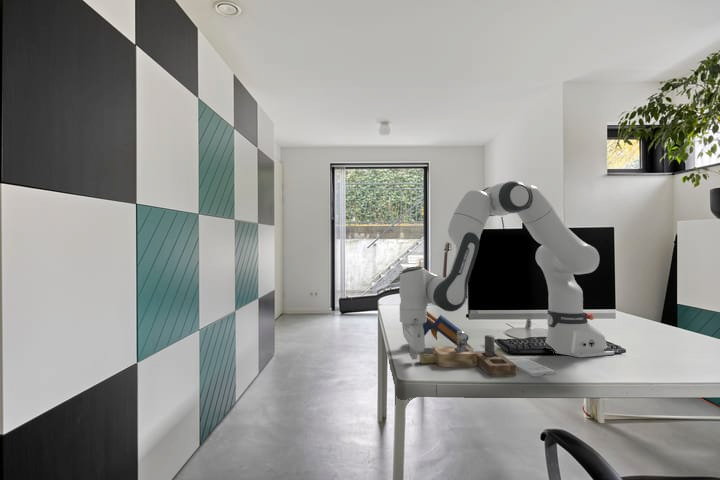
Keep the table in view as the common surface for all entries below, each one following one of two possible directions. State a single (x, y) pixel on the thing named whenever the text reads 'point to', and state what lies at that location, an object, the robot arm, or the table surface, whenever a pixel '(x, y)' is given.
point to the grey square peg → (461, 341)
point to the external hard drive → (532, 367)
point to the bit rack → (494, 360)
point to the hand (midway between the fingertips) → (413, 358)
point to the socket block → (455, 357)
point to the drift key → (428, 358)
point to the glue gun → (442, 328)
